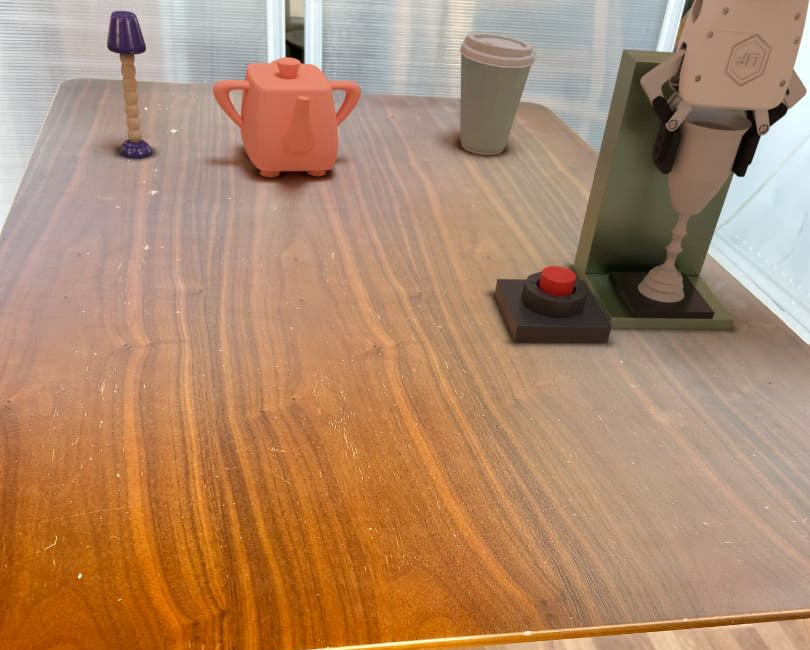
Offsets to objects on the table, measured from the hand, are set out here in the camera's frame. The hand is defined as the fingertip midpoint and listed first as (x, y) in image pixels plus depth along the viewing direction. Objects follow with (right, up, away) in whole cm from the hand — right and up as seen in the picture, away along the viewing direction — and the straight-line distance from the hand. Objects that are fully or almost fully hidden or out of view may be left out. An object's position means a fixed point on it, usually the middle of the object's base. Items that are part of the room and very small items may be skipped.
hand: (698, 169), depth 87 cm
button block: (-14, -13, +7) cm, 20 cm away
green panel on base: (-2, -10, +12) cm, 16 cm away
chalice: (-1, -10, +9) cm, 13 cm away
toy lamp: (-65, +15, +30) cm, 73 cm away
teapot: (-45, +13, +31) cm, 56 cm away
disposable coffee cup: (-18, +21, +43) cm, 51 cm away
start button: (-14, -11, +4) cm, 18 cm away
